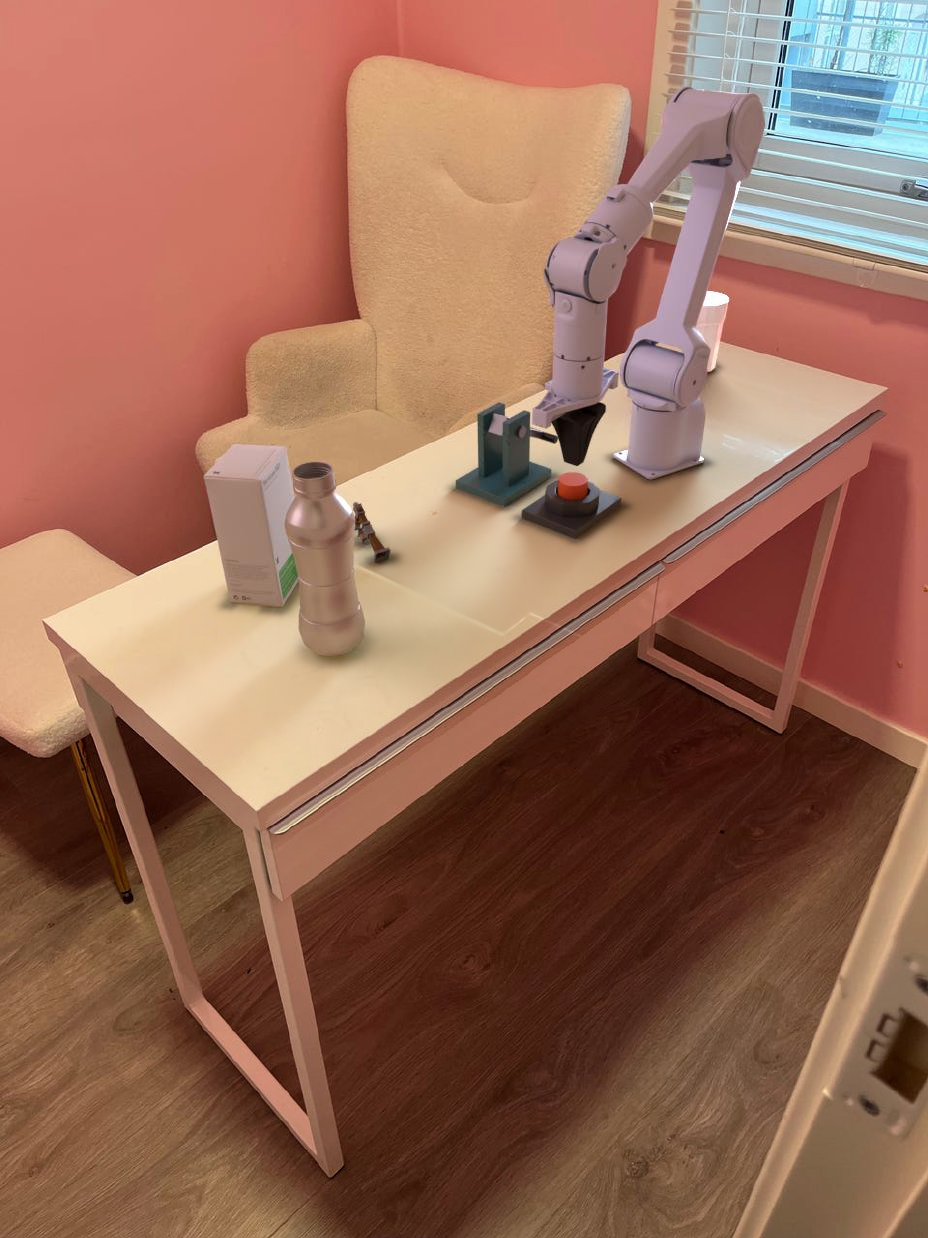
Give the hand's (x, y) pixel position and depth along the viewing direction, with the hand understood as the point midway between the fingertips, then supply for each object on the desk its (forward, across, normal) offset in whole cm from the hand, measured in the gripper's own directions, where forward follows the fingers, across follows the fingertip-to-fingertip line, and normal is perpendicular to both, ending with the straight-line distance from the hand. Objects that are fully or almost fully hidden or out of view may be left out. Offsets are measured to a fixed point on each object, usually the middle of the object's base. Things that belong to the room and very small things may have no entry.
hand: (573, 461), depth 116 cm
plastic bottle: (+7, +37, -4) cm, 38 cm away
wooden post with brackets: (+7, +22, -14) cm, 27 cm away
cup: (+7, -50, -10) cm, 52 cm away
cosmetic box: (+7, +34, -18) cm, 39 cm away
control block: (+7, 0, 0) cm, 7 cm away
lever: (+2, -4, -11) cm, 12 cm away
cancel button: (+4, 0, 0) cm, 4 cm away
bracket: (+7, -1, -11) cm, 13 cm away
